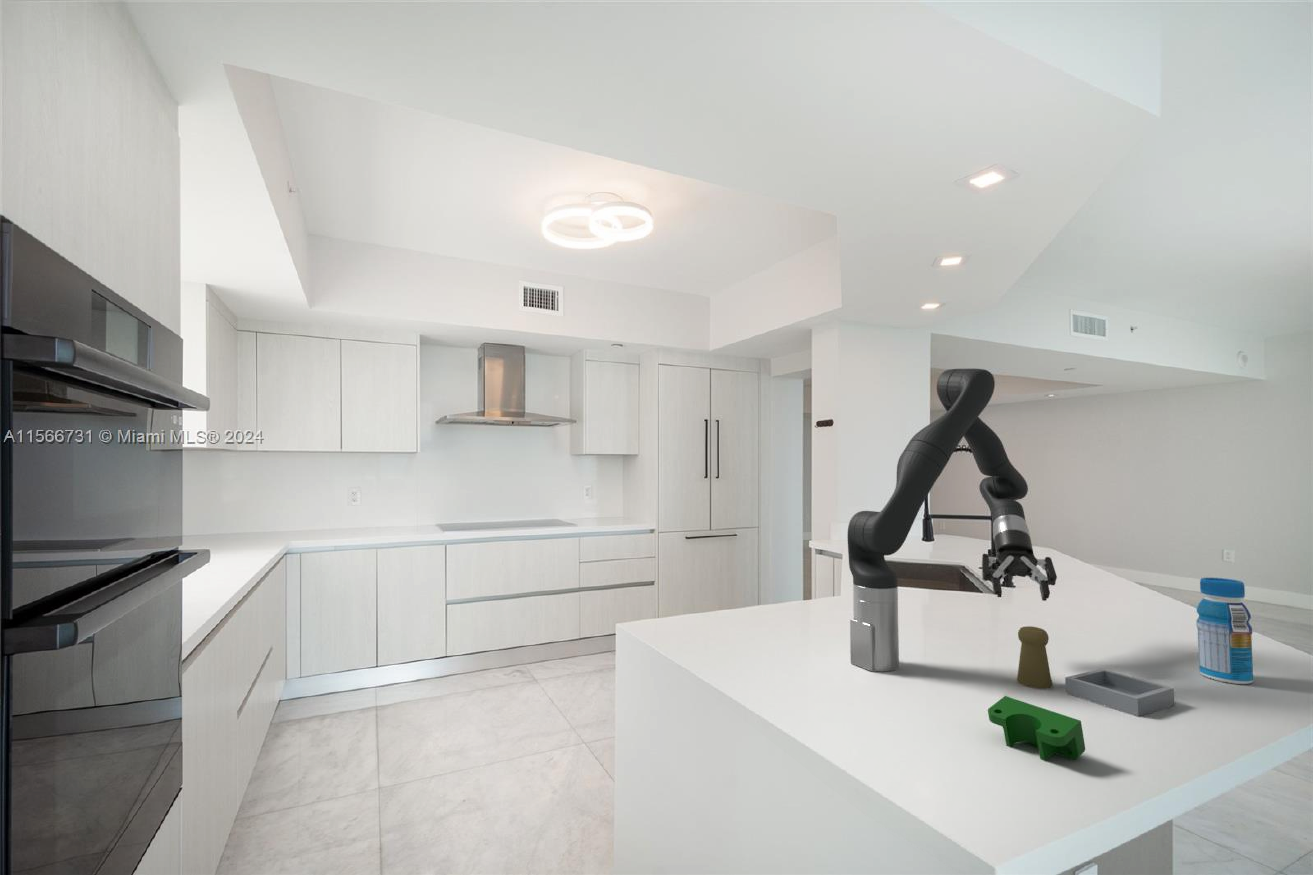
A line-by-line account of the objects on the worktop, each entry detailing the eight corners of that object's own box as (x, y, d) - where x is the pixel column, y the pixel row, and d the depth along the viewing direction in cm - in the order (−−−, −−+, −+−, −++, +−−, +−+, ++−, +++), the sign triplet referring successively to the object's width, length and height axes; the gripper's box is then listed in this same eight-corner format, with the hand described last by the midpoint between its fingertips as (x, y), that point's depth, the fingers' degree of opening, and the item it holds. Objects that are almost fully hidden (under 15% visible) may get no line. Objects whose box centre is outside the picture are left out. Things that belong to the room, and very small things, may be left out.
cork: (1058, 690, 118) (1056, 632, 118) (1023, 687, 119) (1022, 630, 119) (1044, 679, 123) (1043, 624, 124) (1012, 677, 125) (1010, 623, 125)
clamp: (1005, 771, 95) (975, 712, 97) (1026, 752, 98) (996, 696, 100) (1079, 773, 85) (1042, 708, 87) (1099, 753, 88) (1063, 691, 90)
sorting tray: (1138, 716, 105) (1137, 698, 105) (1065, 693, 116) (1065, 677, 116) (1174, 705, 110) (1173, 688, 110) (1102, 683, 121) (1101, 668, 121)
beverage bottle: (1197, 678, 124) (1193, 580, 125) (1198, 668, 131) (1195, 575, 132) (1255, 688, 119) (1250, 585, 120) (1253, 678, 125) (1249, 580, 126)
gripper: (979, 527, 144) (986, 584, 133) (1049, 529, 139) (1063, 589, 127) (977, 547, 148) (984, 604, 137) (1044, 550, 143) (1057, 609, 132)
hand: (1022, 596), depth 132 cm, fingers open, 8 cm apart
